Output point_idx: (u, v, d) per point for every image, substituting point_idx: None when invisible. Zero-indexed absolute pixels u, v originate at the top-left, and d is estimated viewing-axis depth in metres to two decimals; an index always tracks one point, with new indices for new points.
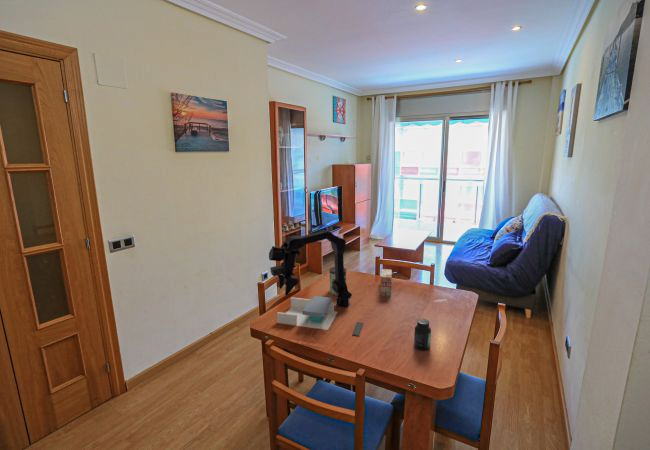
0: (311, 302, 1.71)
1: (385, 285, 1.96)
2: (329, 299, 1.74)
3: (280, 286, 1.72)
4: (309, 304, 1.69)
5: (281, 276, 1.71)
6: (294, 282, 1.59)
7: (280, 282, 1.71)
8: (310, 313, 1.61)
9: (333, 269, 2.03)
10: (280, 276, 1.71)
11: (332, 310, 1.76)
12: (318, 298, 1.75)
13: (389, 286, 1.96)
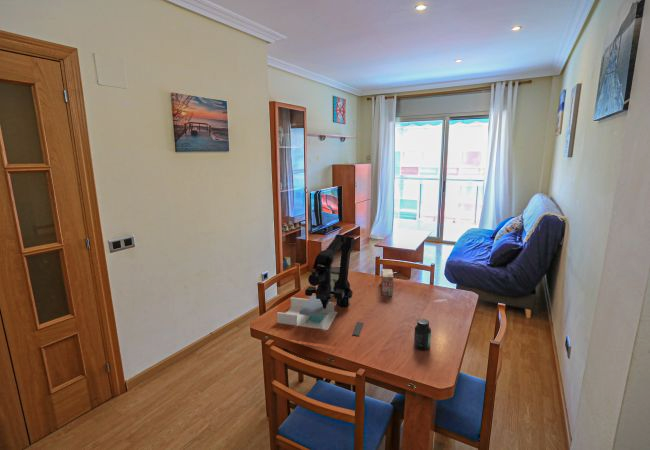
0: (308, 301, 1.72)
1: (386, 285, 1.97)
2: None
3: None
4: (306, 304, 1.69)
5: None
6: (343, 294, 1.63)
7: (324, 303, 1.65)
8: (307, 313, 1.61)
9: (333, 269, 2.03)
10: None
11: (332, 310, 1.76)
12: (315, 298, 1.76)
13: (391, 286, 1.96)
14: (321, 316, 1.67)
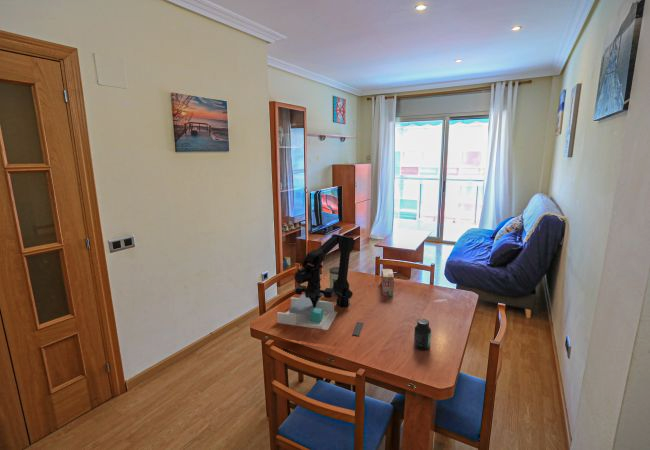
0: (298, 300, 1.73)
1: (387, 285, 1.97)
2: None
3: None
4: (296, 302, 1.71)
5: None
6: (333, 292, 1.64)
7: (313, 301, 1.66)
8: (296, 311, 1.63)
9: (333, 269, 2.03)
10: None
11: (332, 310, 1.76)
12: None
13: (391, 286, 1.97)
14: (321, 316, 1.67)
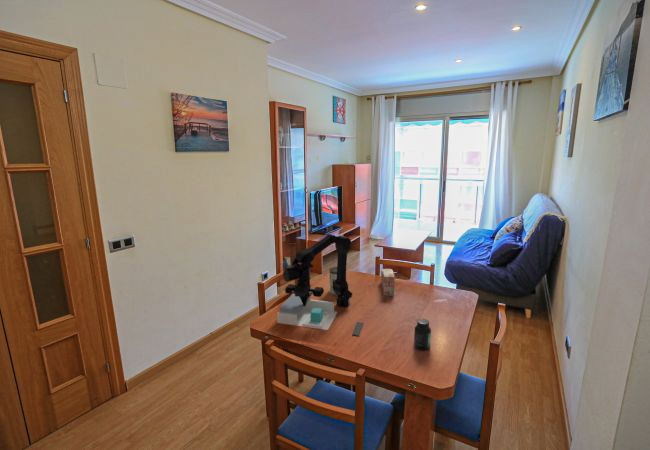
0: (289, 299, 1.75)
1: (388, 285, 1.97)
2: None
3: None
4: (287, 301, 1.72)
5: None
6: (322, 291, 1.66)
7: None
8: (286, 310, 1.64)
9: (333, 269, 2.03)
10: None
11: (332, 310, 1.76)
12: None
13: (392, 285, 1.97)
14: (321, 316, 1.67)
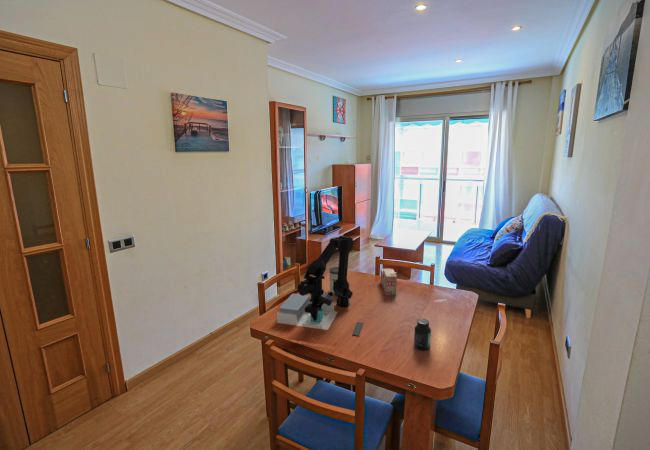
0: (288, 299, 1.75)
1: (390, 285, 1.97)
2: (307, 296, 1.78)
3: None
4: (286, 301, 1.72)
5: None
6: None
7: None
8: (286, 310, 1.64)
9: (333, 269, 2.03)
10: None
11: (332, 310, 1.76)
12: (296, 295, 1.79)
13: (394, 285, 1.97)
14: (321, 316, 1.67)
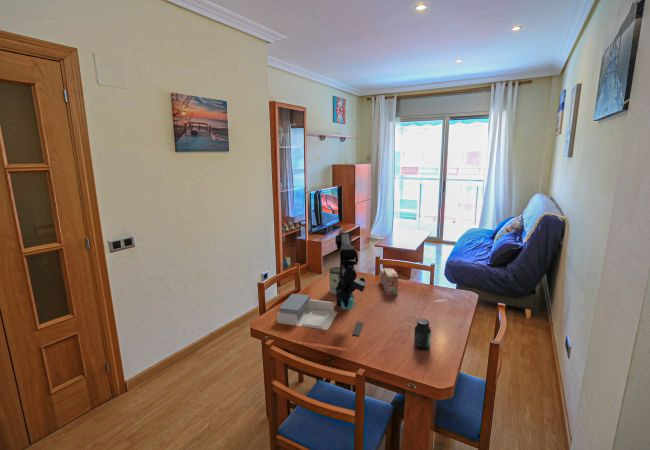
0: (288, 299, 1.75)
1: (391, 284, 1.98)
2: (307, 296, 1.78)
3: None
4: (286, 301, 1.72)
5: None
6: None
7: None
8: (286, 310, 1.64)
9: (333, 269, 2.03)
10: None
11: (332, 310, 1.76)
12: (296, 295, 1.79)
13: (396, 285, 1.98)
14: (352, 303, 1.59)
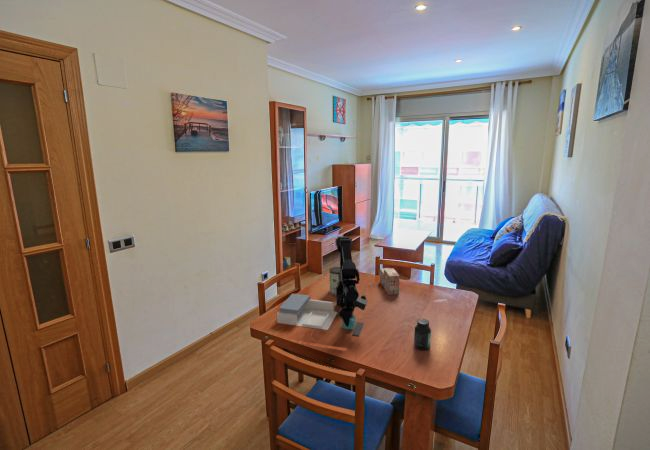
0: (288, 299, 1.75)
1: (393, 284, 1.98)
2: (307, 296, 1.78)
3: None
4: (286, 301, 1.72)
5: None
6: None
7: None
8: (286, 310, 1.64)
9: (333, 269, 2.03)
10: None
11: (332, 310, 1.76)
12: (296, 295, 1.79)
13: (397, 284, 1.98)
14: (354, 323, 1.61)
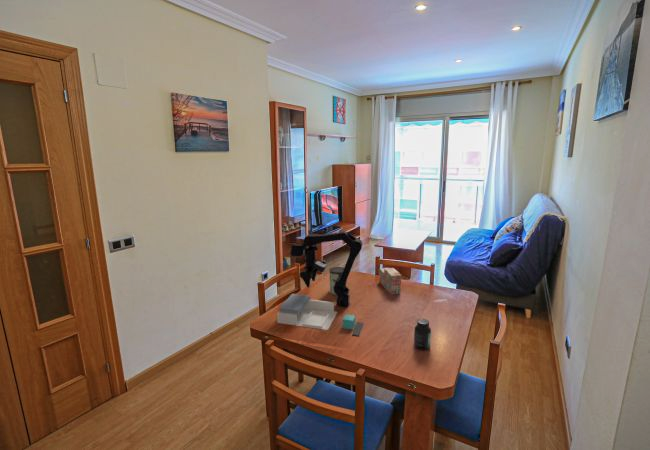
0: (288, 299, 1.75)
1: (395, 284, 1.99)
2: (307, 296, 1.78)
3: None
4: (286, 301, 1.72)
5: None
6: None
7: None
8: (286, 310, 1.64)
9: (333, 269, 2.03)
10: None
11: (332, 310, 1.76)
12: (296, 295, 1.79)
13: (399, 284, 1.99)
14: (354, 323, 1.61)
